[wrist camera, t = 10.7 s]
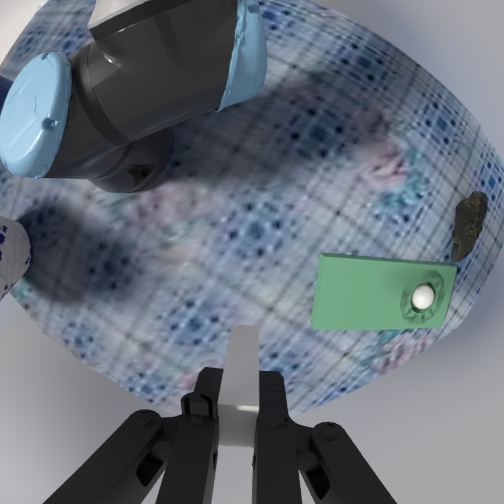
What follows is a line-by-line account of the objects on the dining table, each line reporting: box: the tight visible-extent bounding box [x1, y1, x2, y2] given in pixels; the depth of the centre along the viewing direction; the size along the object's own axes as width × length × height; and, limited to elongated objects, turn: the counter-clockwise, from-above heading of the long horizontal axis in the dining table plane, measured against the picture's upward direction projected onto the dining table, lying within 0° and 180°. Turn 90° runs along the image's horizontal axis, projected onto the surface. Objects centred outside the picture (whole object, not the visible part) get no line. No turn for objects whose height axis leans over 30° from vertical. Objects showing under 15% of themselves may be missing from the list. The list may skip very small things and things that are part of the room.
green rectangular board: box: [310, 253, 457, 330], centre depth 38 cm, size 25×11×2 cm, turn 86°
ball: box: [412, 285, 434, 309], centre depth 37 cm, size 4×4×4 cm
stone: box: [452, 191, 488, 263], centre depth 35 cm, size 7×13×5 cm, turn 163°
